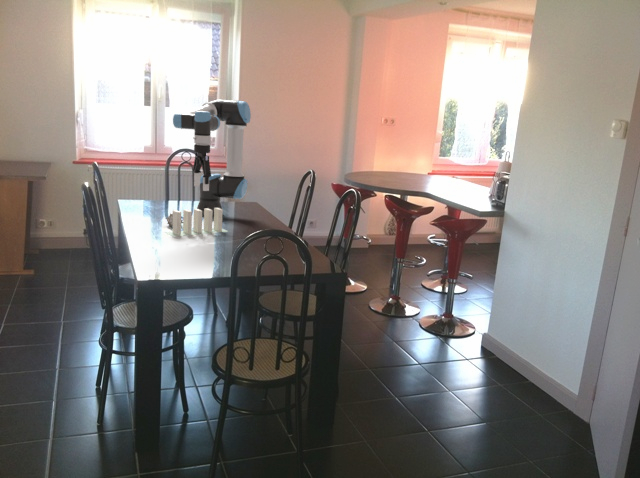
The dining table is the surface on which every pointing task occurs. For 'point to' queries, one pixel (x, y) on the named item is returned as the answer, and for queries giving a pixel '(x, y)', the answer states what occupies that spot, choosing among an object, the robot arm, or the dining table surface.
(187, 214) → the domino
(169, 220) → the game die
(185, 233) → the board
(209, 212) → the domino
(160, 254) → the dining table surface
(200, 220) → the domino
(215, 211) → the domino
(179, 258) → the dining table surface
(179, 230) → the domino
